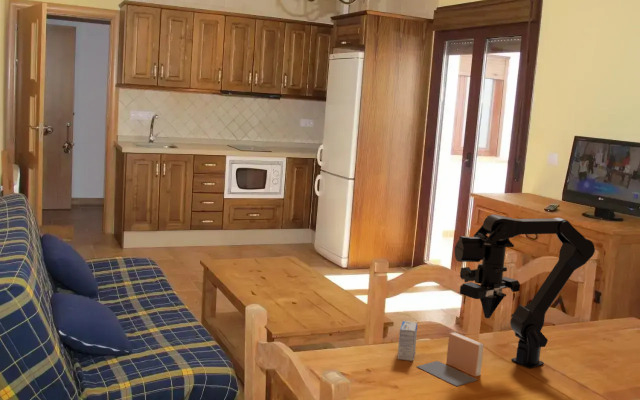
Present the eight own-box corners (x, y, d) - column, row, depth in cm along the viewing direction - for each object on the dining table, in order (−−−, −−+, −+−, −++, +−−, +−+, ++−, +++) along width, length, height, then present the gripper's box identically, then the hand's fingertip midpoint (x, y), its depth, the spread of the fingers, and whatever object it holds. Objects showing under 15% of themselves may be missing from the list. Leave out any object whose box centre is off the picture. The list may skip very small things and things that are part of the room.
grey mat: (437, 361, 188) (437, 360, 188) (477, 380, 177) (477, 379, 177) (416, 367, 183) (416, 366, 183) (456, 386, 172) (456, 385, 172)
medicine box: (413, 361, 186) (416, 331, 185) (397, 359, 187) (399, 329, 186) (415, 351, 194) (417, 322, 193) (399, 349, 195) (402, 320, 194)
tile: (451, 361, 188) (454, 332, 187) (480, 375, 180) (483, 344, 179) (446, 363, 187) (449, 333, 186) (474, 376, 179) (478, 345, 178)
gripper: (491, 252, 196) (485, 305, 198) (447, 258, 185) (441, 314, 187) (524, 261, 187) (517, 316, 190) (479, 268, 176) (473, 326, 178)
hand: (487, 317), depth 186 cm, fingers closed
